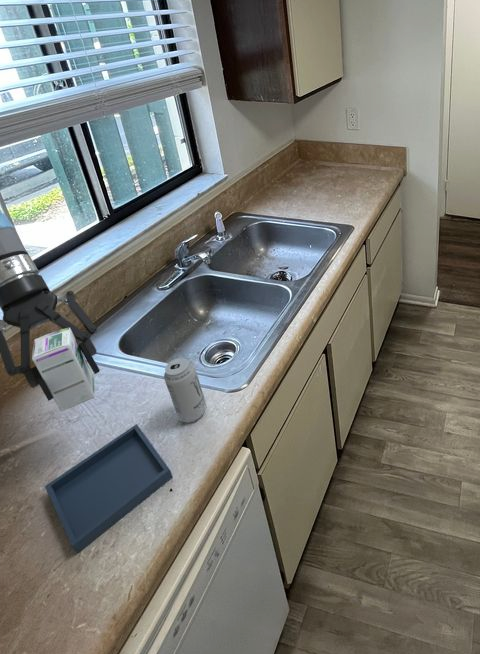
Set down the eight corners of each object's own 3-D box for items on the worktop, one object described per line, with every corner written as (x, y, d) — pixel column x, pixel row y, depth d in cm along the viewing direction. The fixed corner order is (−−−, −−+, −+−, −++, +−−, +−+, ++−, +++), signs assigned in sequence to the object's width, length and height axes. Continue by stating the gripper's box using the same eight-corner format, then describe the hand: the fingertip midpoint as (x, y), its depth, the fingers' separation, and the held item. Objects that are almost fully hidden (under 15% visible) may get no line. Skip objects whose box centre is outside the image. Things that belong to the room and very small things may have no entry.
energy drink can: (205, 420, 98) (190, 373, 92) (176, 428, 97) (159, 380, 90) (208, 398, 103) (194, 352, 97) (181, 405, 102) (164, 358, 95)
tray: (49, 494, 84) (44, 486, 83) (139, 431, 96) (136, 423, 95) (77, 554, 75) (71, 546, 74) (172, 477, 87) (169, 469, 86)
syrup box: (95, 397, 87) (71, 343, 80) (59, 413, 84) (30, 357, 77) (94, 378, 91) (71, 325, 85) (59, 392, 88) (32, 338, 81)
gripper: (-57, 305, 75) (6, 421, 73) (76, 253, 89) (132, 349, 87) (-49, 316, 81) (10, 424, 78) (75, 265, 95) (128, 356, 92)
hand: (74, 384), depth 83 cm, fingers closed on syrup box, 7 cm apart
